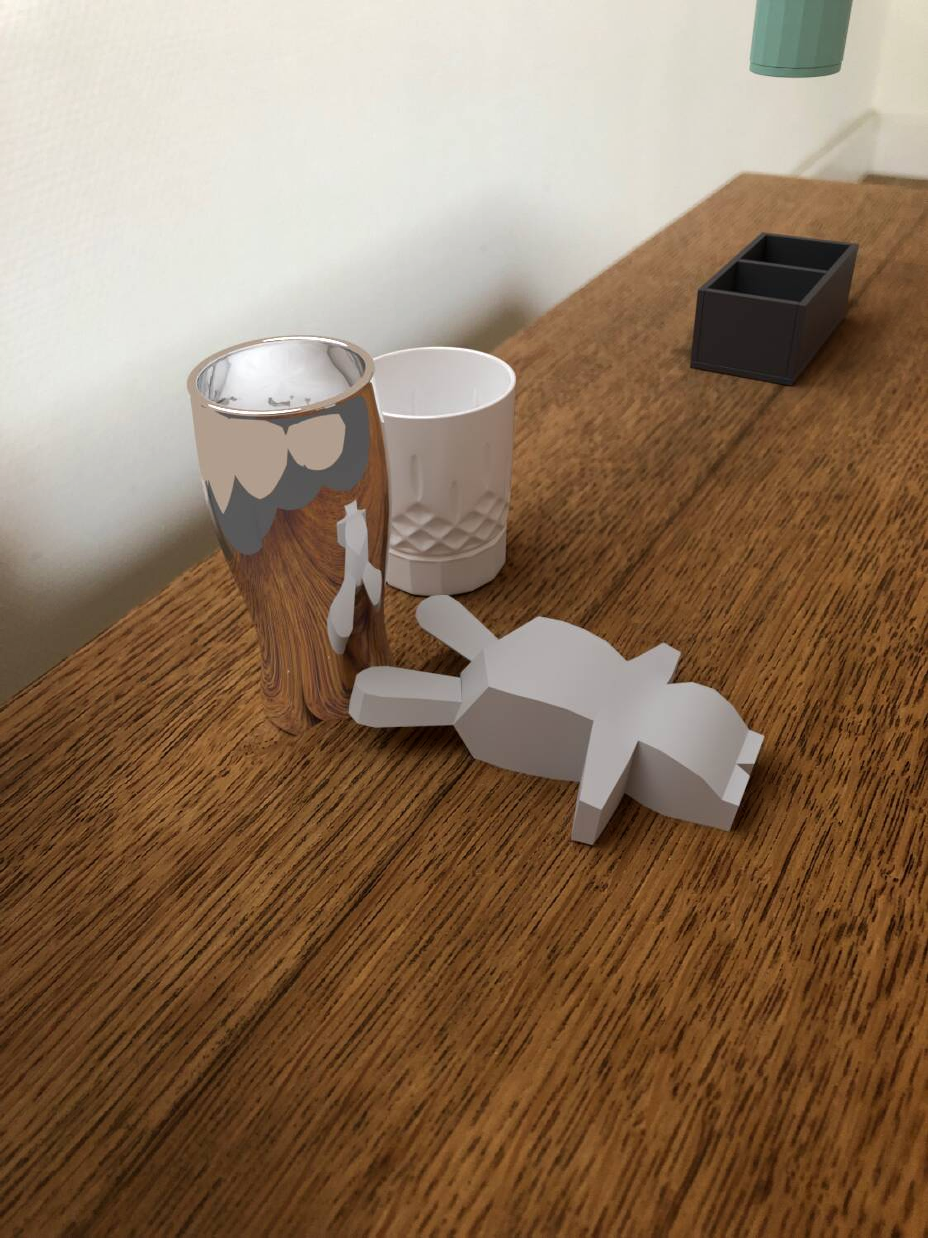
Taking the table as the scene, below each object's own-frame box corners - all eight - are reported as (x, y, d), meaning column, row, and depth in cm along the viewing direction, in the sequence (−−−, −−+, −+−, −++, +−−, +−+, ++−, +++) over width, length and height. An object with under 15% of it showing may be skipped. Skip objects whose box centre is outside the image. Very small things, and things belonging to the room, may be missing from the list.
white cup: (430, 626, 48) (417, 434, 42) (334, 559, 53) (310, 379, 47) (548, 561, 52) (551, 378, 46) (448, 505, 57) (440, 333, 51)
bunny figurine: (729, 833, 32) (326, 669, 37) (694, 925, 36) (328, 764, 40) (792, 660, 39) (445, 539, 44) (758, 751, 42) (438, 630, 47)
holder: (844, 317, 78) (859, 243, 74) (792, 386, 68) (806, 305, 65) (751, 303, 81) (761, 231, 77) (689, 367, 71) (697, 288, 68)
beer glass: (238, 664, 46) (167, 351, 37) (384, 627, 48) (350, 319, 39) (270, 767, 41) (196, 432, 32) (432, 720, 43) (406, 391, 34)
